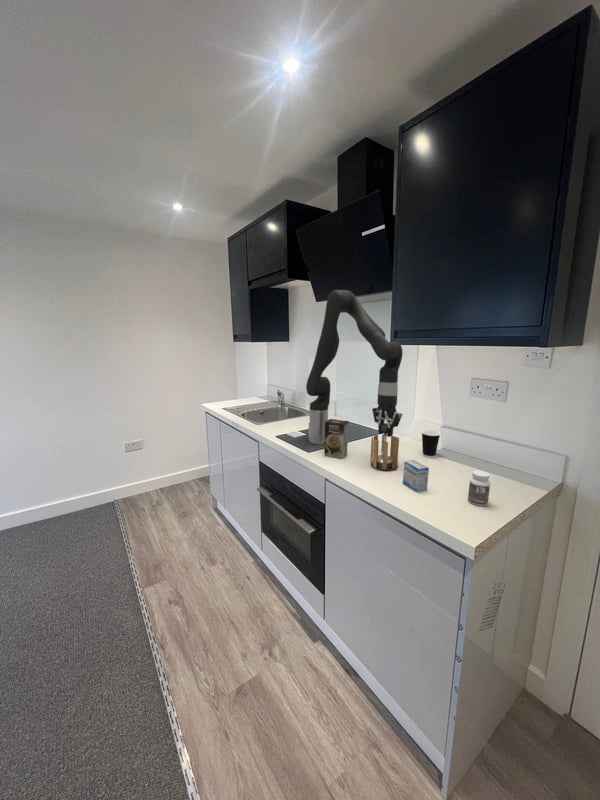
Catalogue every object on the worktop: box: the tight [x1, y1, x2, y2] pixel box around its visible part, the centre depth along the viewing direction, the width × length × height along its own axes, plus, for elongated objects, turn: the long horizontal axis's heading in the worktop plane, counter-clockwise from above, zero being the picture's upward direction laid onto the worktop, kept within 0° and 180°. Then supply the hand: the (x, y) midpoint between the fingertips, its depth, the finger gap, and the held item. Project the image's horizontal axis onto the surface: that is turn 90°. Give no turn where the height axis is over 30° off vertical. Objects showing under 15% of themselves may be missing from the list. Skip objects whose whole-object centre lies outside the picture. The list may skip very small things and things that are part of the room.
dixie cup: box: [421, 429, 442, 459], centre depth 141 cm, size 8×8×11 cm
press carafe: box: [369, 433, 400, 472], centre depth 130 cm, size 11×13×12 cm
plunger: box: [378, 422, 392, 464], centre depth 129 cm, size 8×8×15 cm
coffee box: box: [323, 418, 349, 460], centre depth 141 cm, size 9×6×16 cm
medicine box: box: [402, 459, 430, 493], centre depth 112 cm, size 8×4×9 cm, turn 21°
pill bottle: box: [467, 470, 491, 507], centre depth 101 cm, size 6×6×10 cm
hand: (385, 434), depth 128 cm, fingers closed on plunger, 3 cm apart
